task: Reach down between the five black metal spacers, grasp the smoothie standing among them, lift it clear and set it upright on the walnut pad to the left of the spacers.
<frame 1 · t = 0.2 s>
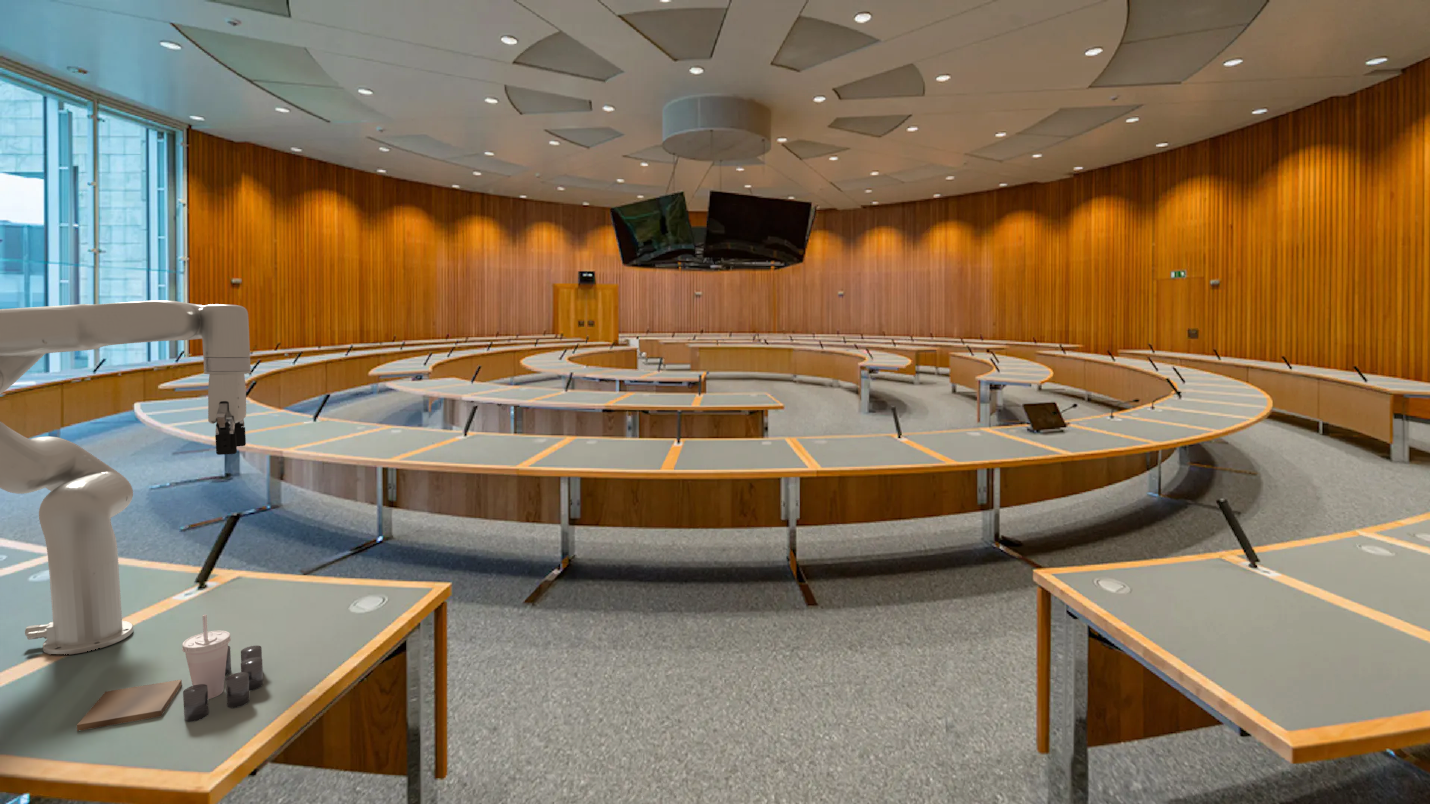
hand: (231, 450, 131), 37 cm above the table, tool pointing down, fingers open, 9 cm apart
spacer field: (209, 693, 108), on the table
walnut pad: (132, 706, 104), on the table
smoothie: (209, 695, 108), on the table
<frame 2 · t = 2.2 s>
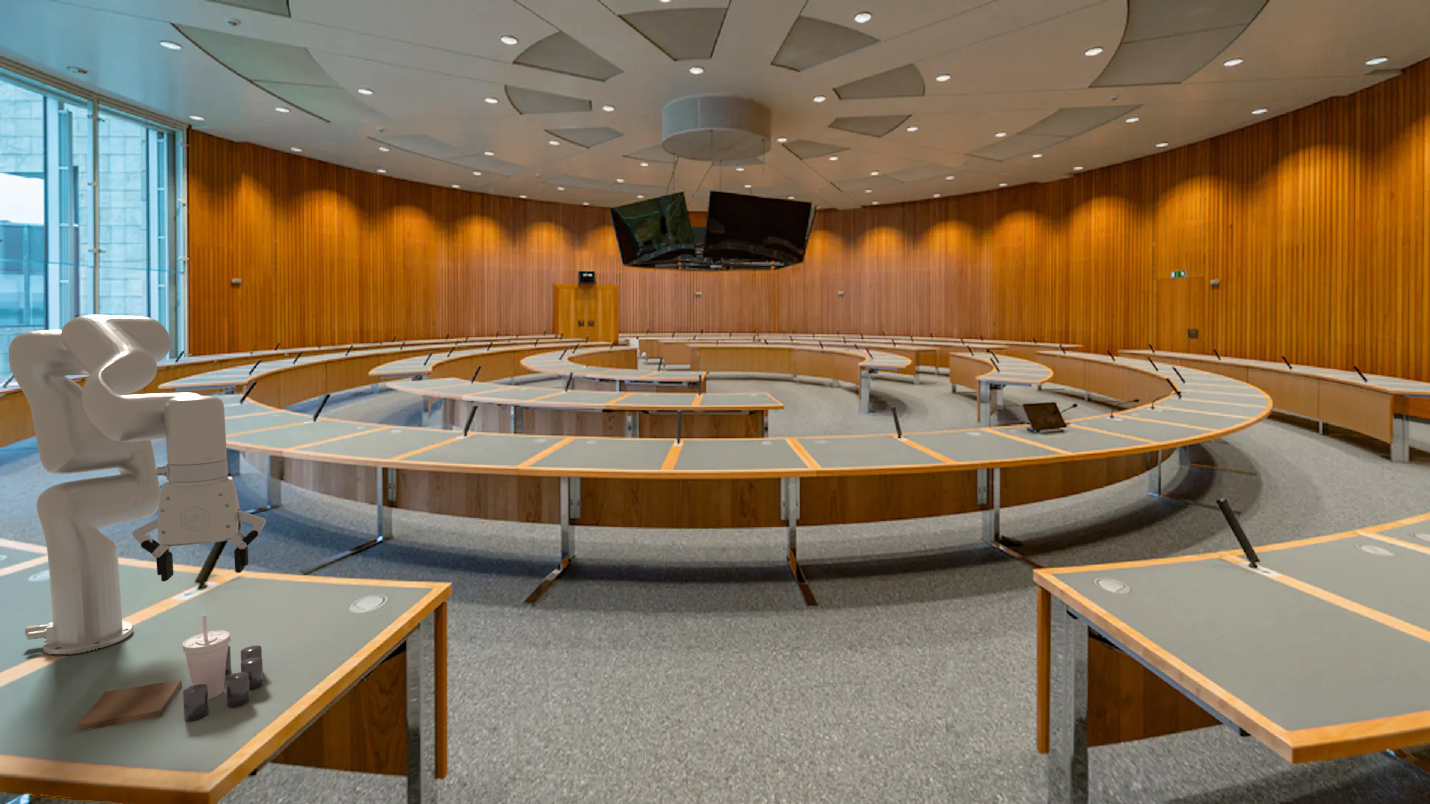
hand: (204, 574, 106), 21 cm above the table, tool pointing down, fingers open, 9 cm apart
nothing on the table moved.
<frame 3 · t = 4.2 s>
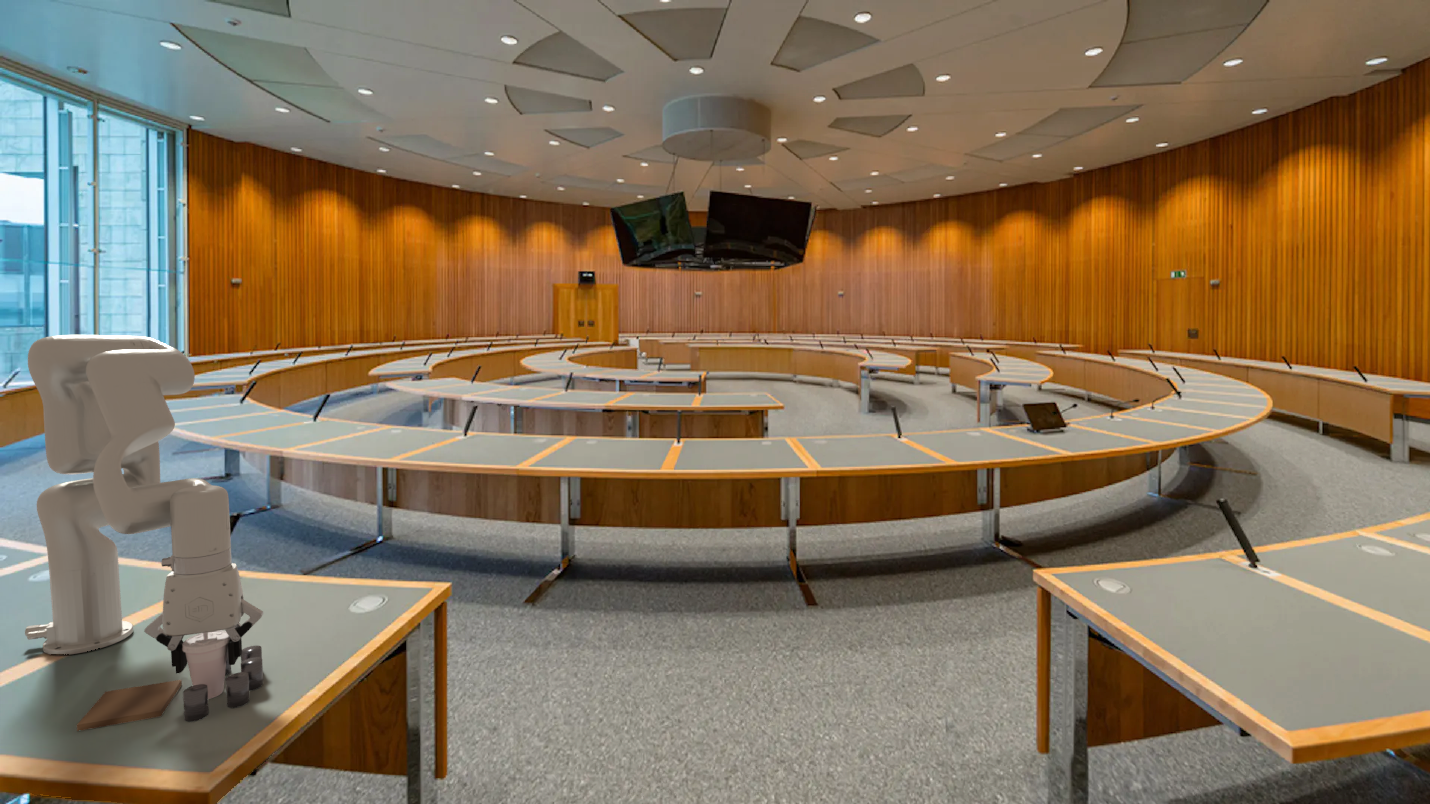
hand: (208, 664, 107), 5 cm above the table, tool pointing down, fingers closed on smoothie, 6 cm apart
smoothie: (209, 695, 108), on the table, touching gripper
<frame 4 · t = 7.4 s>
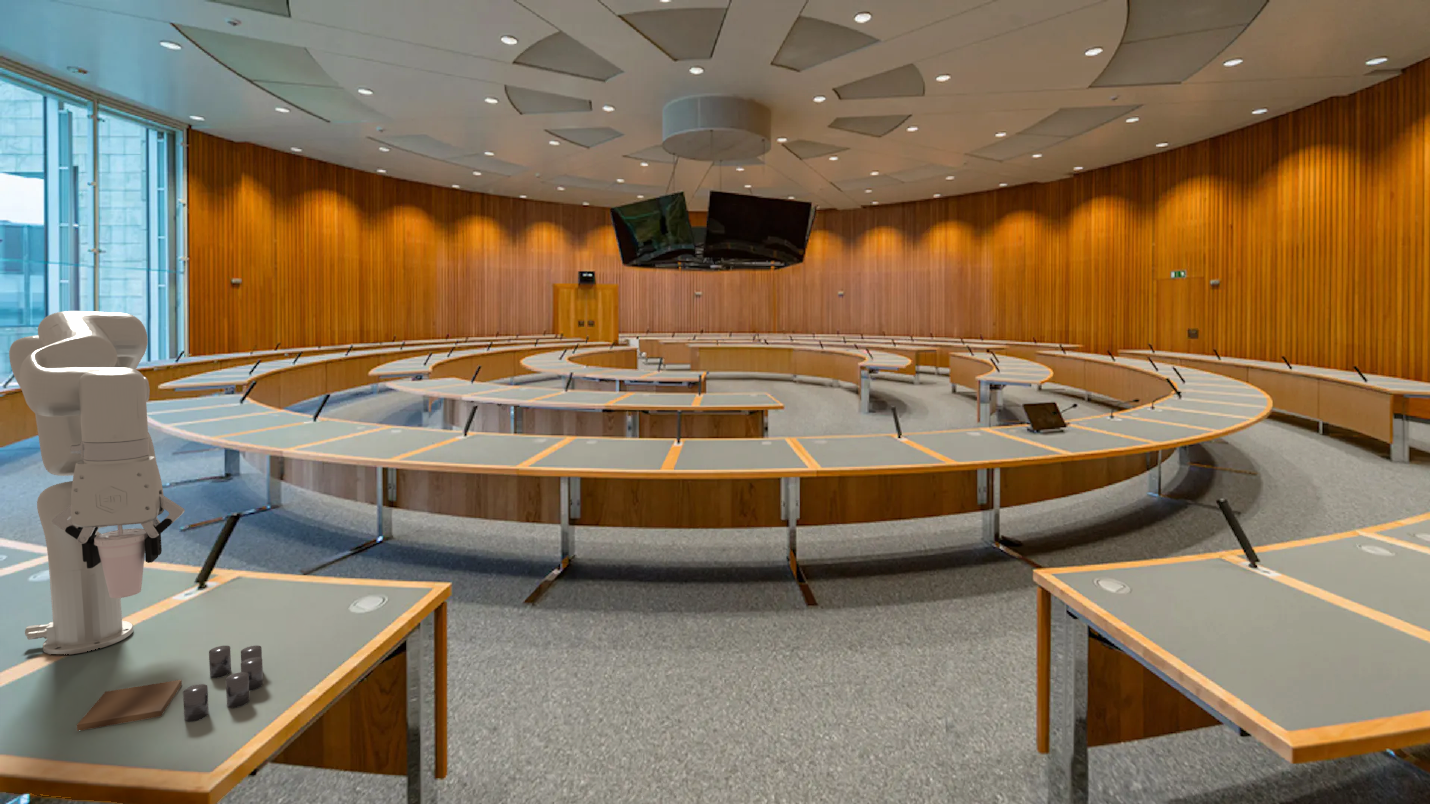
hand: (123, 561, 101), 24 cm above the table, tool pointing down, fingers closed on smoothie, 6 cm apart
smoothie: (125, 594, 102), point 19 cm above the table, touching gripper
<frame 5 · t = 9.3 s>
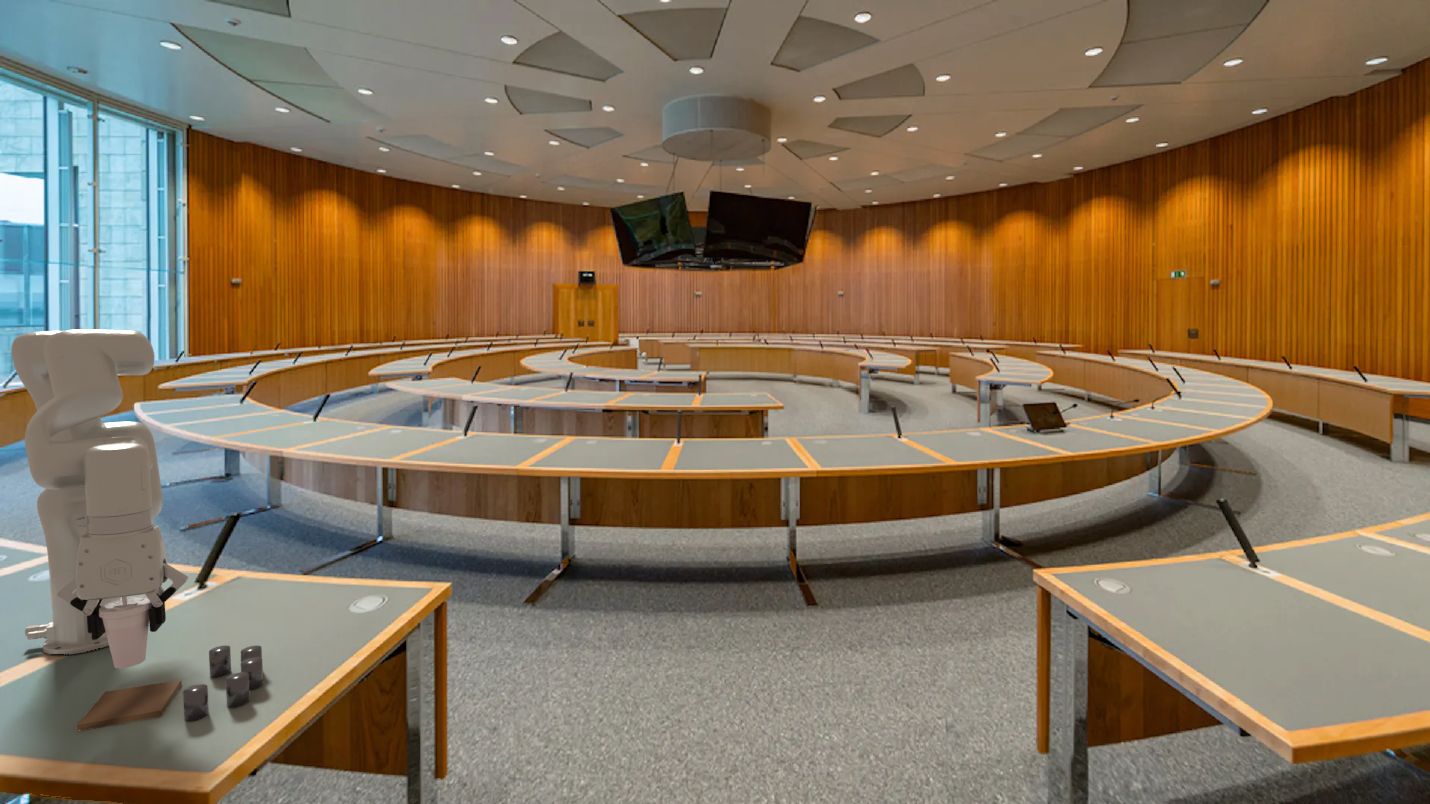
hand: (128, 631, 102), 13 cm above the table, tool pointing down, fingers closed on smoothie, 6 cm apart
smoothie: (130, 663, 103), point 7 cm above the table, touching gripper
when the fingers open (7 cm above the table, at t = 10.9 s): smoothie drops 1 cm, resting on walnut pad.
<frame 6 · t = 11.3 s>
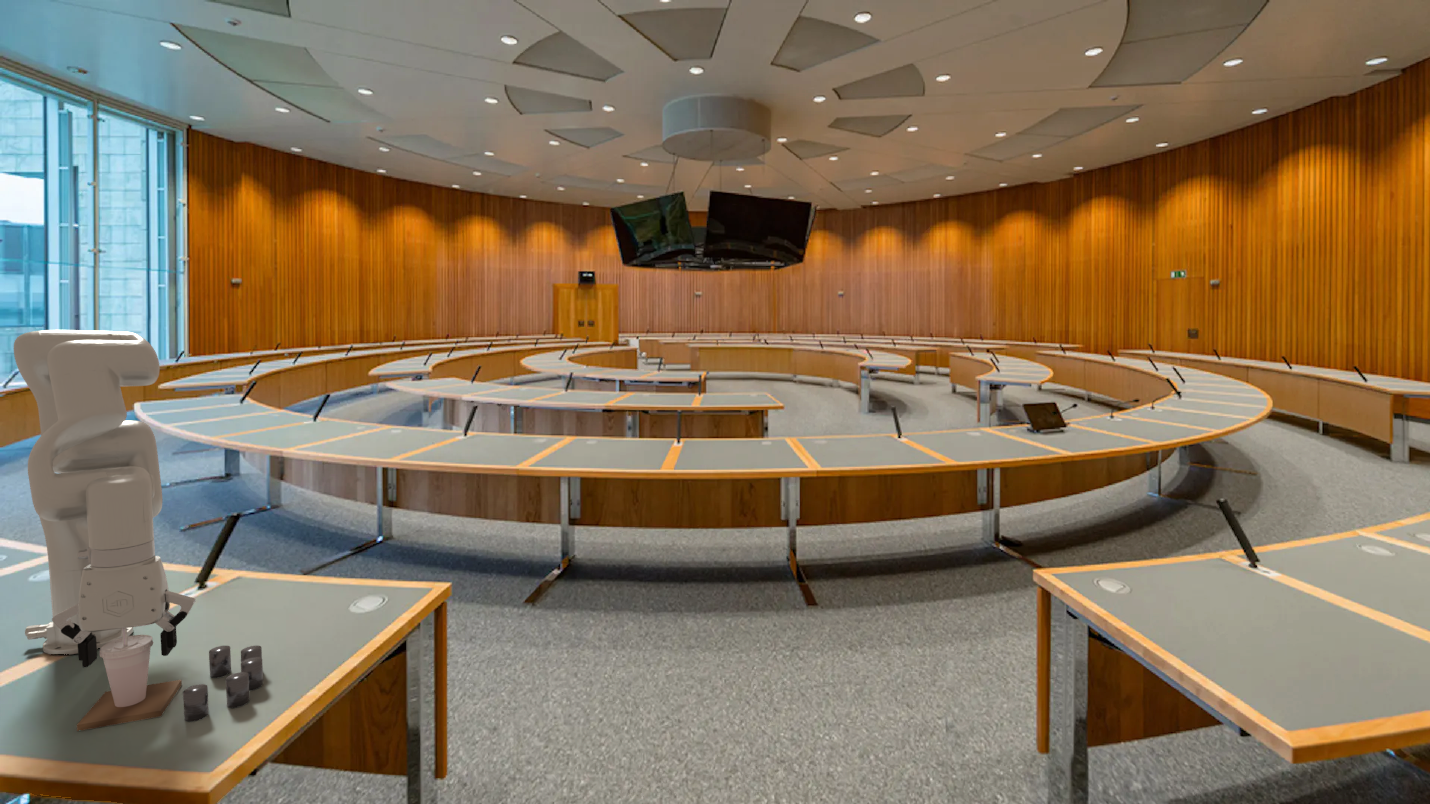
hand: (129, 657, 103), 8 cm above the table, tool pointing down, fingers open, 9 cm apart
smoothie: (130, 701, 103), point 1 cm above the table, touching walnut pad
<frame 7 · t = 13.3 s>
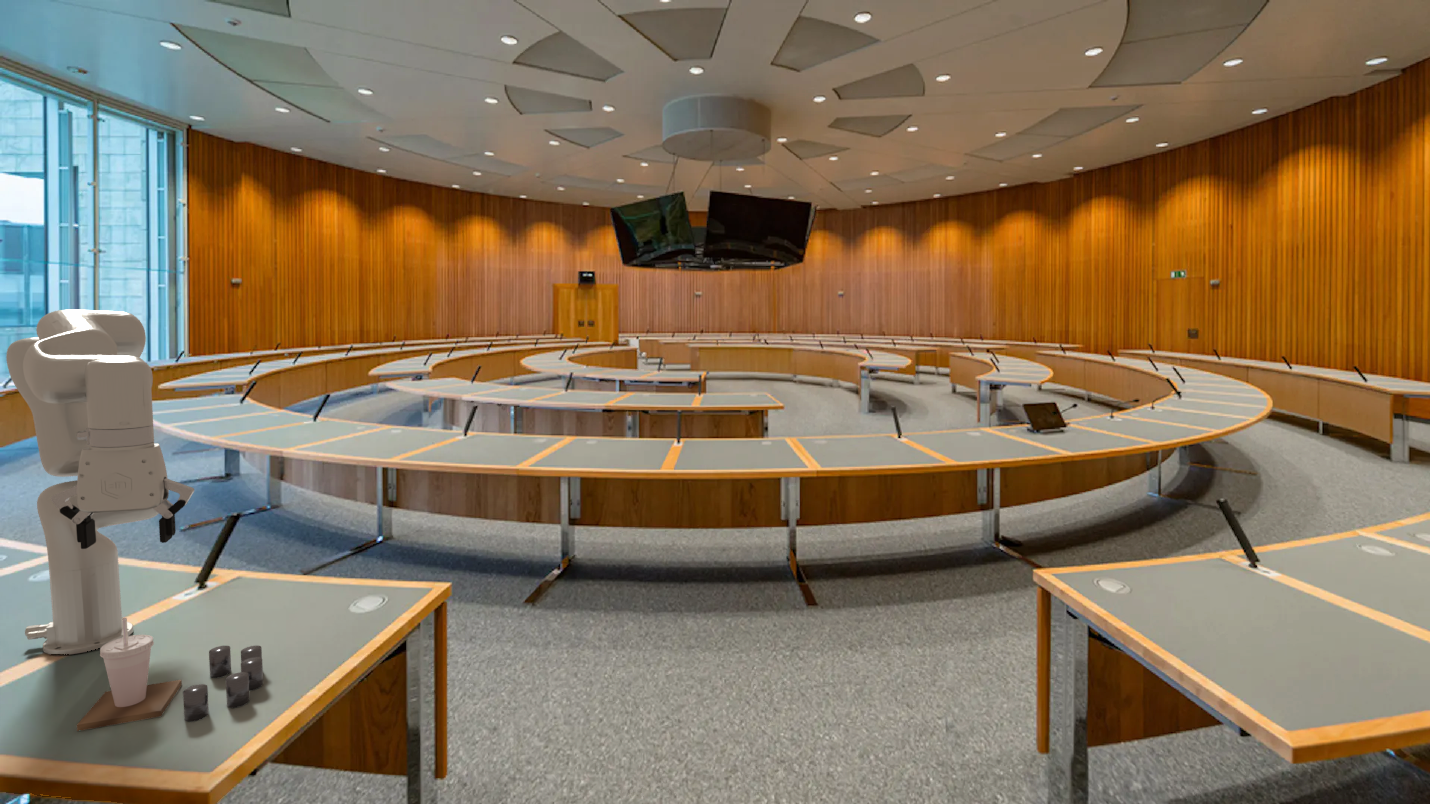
hand: (128, 543, 103), 27 cm above the table, tool pointing down, fingers open, 9 cm apart
nothing on the table moved.
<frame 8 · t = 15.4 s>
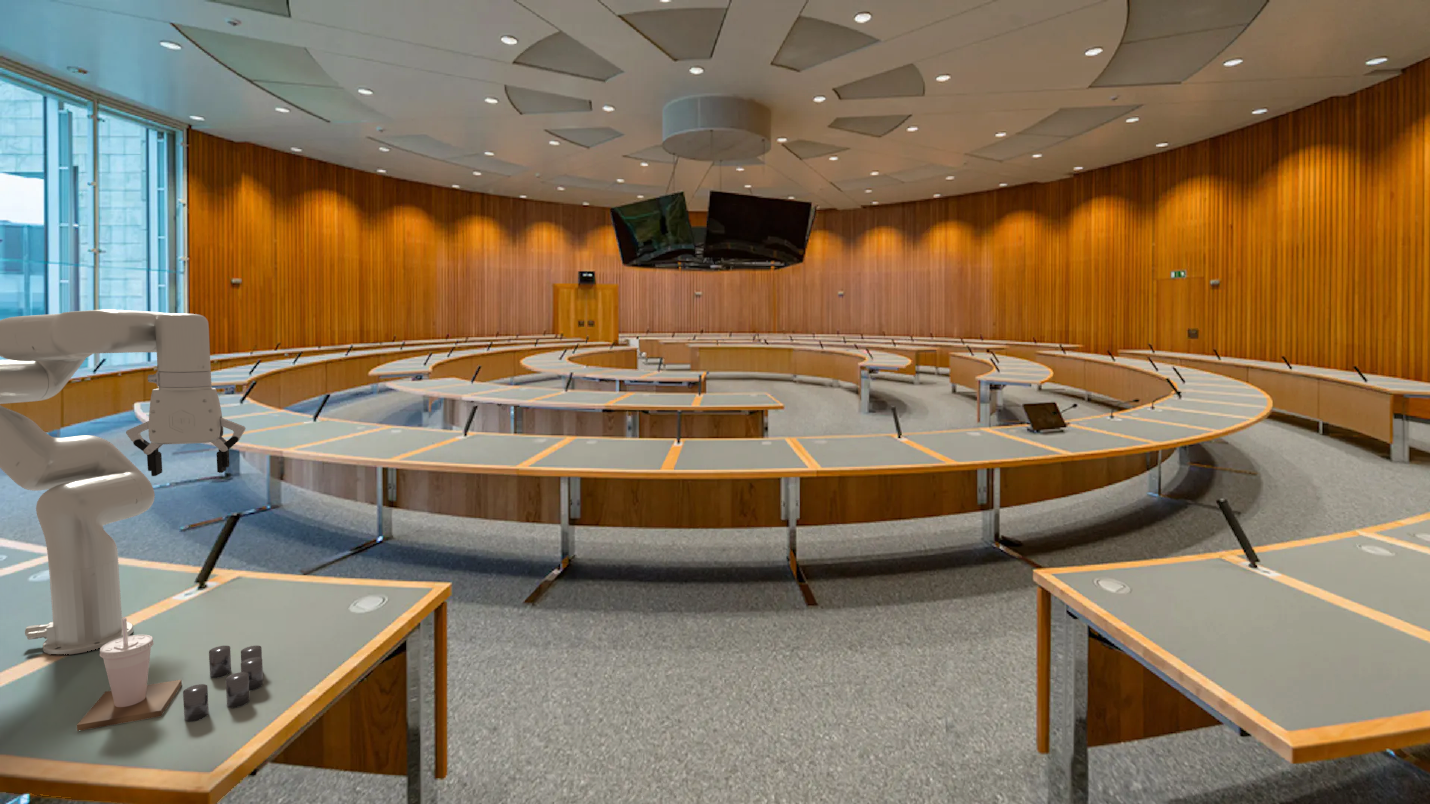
hand: (190, 473, 119), 34 cm above the table, tool pointing down, fingers open, 9 cm apart
nothing on the table moved.
at the end: smoothie inside the target area on the walnut pad (0.3 cm from its centre), point 0.8 cm above the walnut pad's base; smoothie tilted 0°; the gripper is holding nothing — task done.
